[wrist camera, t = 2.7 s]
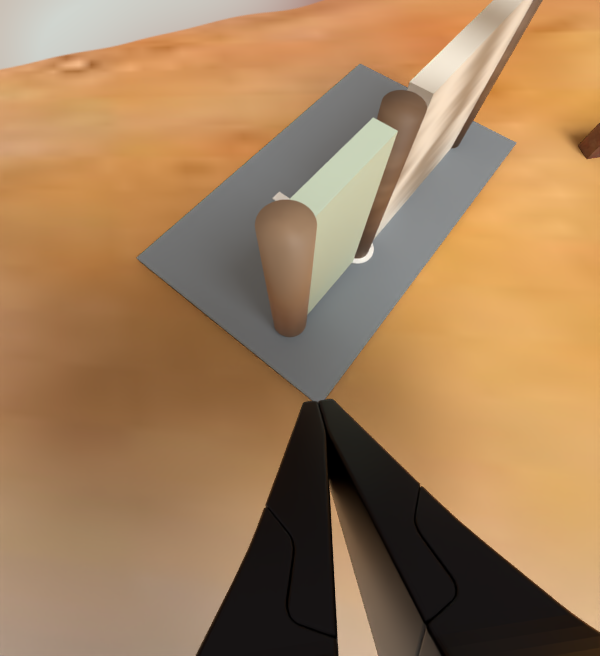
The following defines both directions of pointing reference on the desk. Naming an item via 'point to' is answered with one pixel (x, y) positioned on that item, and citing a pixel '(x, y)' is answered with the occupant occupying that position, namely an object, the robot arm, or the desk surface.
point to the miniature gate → (591, 144)
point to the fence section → (443, 105)
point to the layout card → (362, 274)
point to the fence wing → (320, 227)
